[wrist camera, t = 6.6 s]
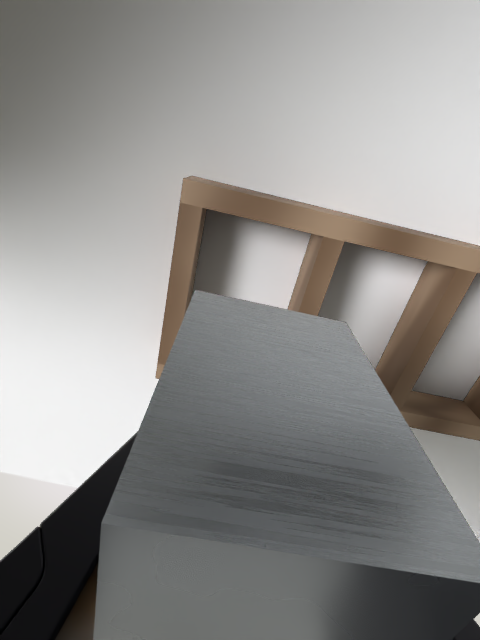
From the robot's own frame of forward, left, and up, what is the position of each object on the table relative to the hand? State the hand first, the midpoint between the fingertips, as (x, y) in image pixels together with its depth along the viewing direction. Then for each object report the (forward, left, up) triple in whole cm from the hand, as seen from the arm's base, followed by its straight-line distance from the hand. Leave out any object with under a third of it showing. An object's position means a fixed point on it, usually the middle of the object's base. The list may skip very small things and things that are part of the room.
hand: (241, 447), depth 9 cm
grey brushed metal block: (0, 0, -2) cm, 2 cm away
